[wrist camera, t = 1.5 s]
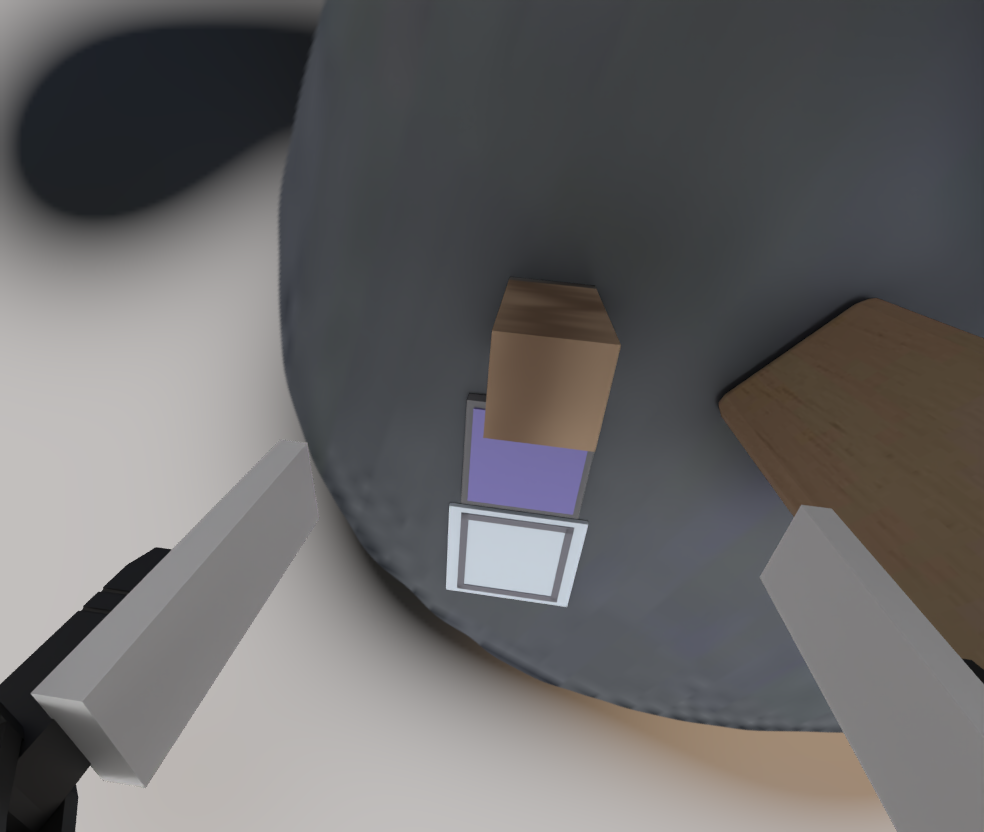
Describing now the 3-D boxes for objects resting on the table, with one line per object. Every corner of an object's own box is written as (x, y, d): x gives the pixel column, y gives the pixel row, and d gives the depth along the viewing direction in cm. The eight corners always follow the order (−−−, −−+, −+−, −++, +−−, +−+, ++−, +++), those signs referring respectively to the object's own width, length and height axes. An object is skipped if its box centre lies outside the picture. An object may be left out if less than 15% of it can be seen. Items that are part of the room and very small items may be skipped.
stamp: (594, 285, 25) (621, 345, 17) (579, 364, 28) (595, 451, 19) (509, 276, 25) (492, 330, 17) (502, 355, 28) (483, 437, 19)
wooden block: (791, 488, 31) (1112, 902, 13) (706, 399, 28) (970, 769, 11) (949, 401, 26) (1728, 843, 9) (868, 285, 24) (1747, 597, 6)
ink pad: (601, 409, 29) (603, 417, 28) (577, 509, 34) (578, 520, 32) (469, 393, 30) (466, 401, 28) (463, 494, 34) (460, 504, 33)
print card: (587, 521, 34) (588, 525, 34) (566, 603, 39) (566, 607, 39) (450, 502, 35) (449, 506, 34) (446, 585, 40) (445, 590, 39)
